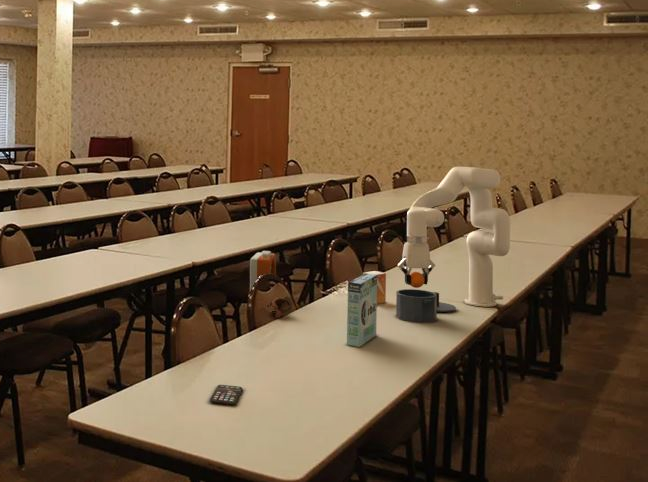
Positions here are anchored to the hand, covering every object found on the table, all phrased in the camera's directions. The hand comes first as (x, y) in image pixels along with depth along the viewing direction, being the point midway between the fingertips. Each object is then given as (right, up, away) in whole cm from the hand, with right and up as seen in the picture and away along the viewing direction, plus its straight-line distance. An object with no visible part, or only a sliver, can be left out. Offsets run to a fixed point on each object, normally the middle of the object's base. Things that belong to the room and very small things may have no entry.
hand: (416, 283), depth 334 cm
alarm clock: (-55, -14, +39) cm, 69 cm away
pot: (0, -14, 0) cm, 14 cm away
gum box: (-32, -14, -33) cm, 48 cm away
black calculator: (-90, -15, -92) cm, 130 cm away
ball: (0, -2, 0) cm, 2 cm away
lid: (+14, -13, +16) cm, 25 cm away
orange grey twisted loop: (-56, -14, +4) cm, 58 cm away
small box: (-8, -14, +27) cm, 32 cm away
